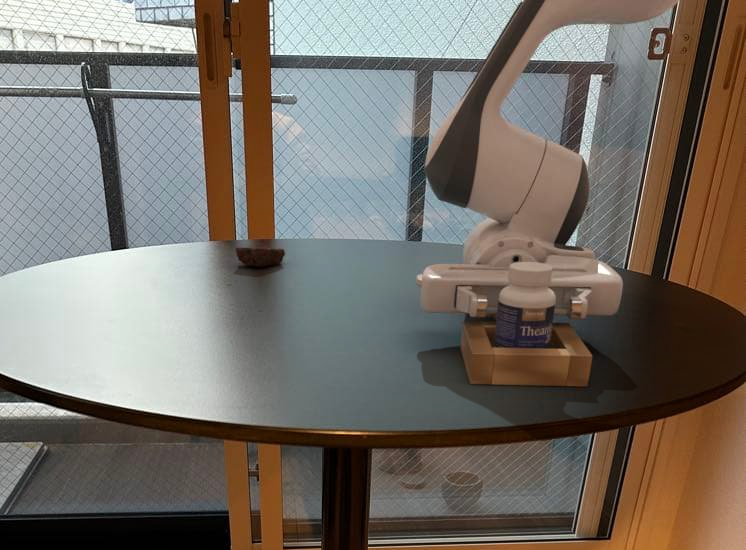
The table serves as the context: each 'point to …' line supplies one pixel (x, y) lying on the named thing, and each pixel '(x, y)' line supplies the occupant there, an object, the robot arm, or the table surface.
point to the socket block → (525, 358)
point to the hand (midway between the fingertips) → (529, 309)
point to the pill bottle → (525, 307)
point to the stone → (260, 256)
